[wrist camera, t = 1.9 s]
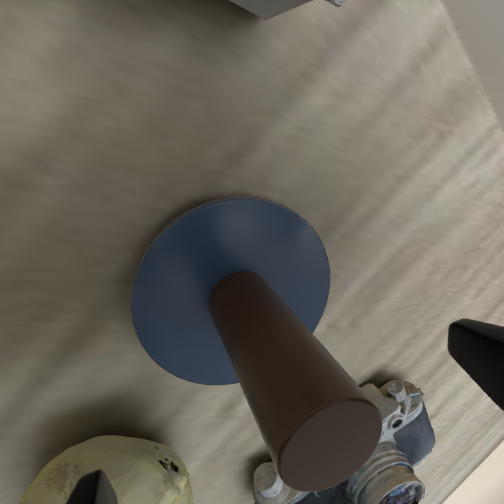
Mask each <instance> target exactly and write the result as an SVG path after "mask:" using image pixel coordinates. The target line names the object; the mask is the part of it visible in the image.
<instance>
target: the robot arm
mask: <svg viewBox="0 0 504 504" xmlns="http://www.w3.org/2000/svg"><path fill="white" fill-rule="evenodd" d="M448 351H449V353H450V355H451V356H452V357H453V358H454V360H455V361H456V362H457V363H458V364H459V365H460V366H461V367H462V368H463V369H464V370H465V371H466V372H467V374H468V375H469V376H470V377H471V378H472V379H473V380H474V381H475V382H476V383H477V384H478V385H479V386H480V388H481V389H482V390H483V391H484V392H485V393H486V394H487V395H488V396H489V397H490V398H491V399H492V400H493V401H494V402H495V403H496V404H497V405H498V406H499V407H500V408H501V409H502V410H503V411H504V327H502V326H498V325H493V324H489V323H484V322H480V321H475V320H471V319H466V318H464V319H460V320H457V321H455V322H453V323H451V324H450V325H449V331H448ZM65 504H118V500H117V496H116V493H115V491H114V489H113V487H112V485H111V483H110V481H109V479H108V477H107V476H106V474H105V472H104V471H103V470H102V469H98V470H95V471H93V472H90V473H88V474H85V475H83V476H82V477H81V478H80V479H79V480H78V482H77V483H76V485H75V487H74V489H73V491H72V493H71V494H70V496H69V498H68V500H67V502H66V503H65Z"/></svg>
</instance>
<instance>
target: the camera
mask: <svg viewBox="0 0 504 504" xmlns="http://www.w3.org/2000/svg"><path fill="white" fill-rule="evenodd" d="M360 388H361V389H362V390H363V392H364V393H365V394H366V395H367V396H368V397H369V398H370V400H371V401H372V402H373V403H374V404H375V405H376V406H377V408H378V410H379V411H380V414H381V417H382V424H383V425H382V434H381V437H380V441H379V443H378V445H377V447H376V449H375V451H374V452H373V454H372V455H371V457H370V458H369V459H368V460H367V462H366V463H365V464H364V465H363V466H362V467H361V468H360V469H359V470H358V471H357V472H356V473H354V474H353V475H352V476H350V477H349V478H348V479H346V480H344V481H343V482H341V483H339V484H337V485H335V486H333V487H331V488H328V489H325V490H321V491H316V492H300V491H296V490H294V489H291V488H290V487H288V486H287V485H286V484H285V483H284V482H283V481H282V480H281V478H280V476H279V474H278V472H277V470H276V467H275V465H274V463H273V461H272V462H268V463H263V464H261V465H260V466H259V467H258V468H257V469H256V471H255V473H254V485H253V494H254V499H255V501H256V502H255V503H254V504H418V502H419V501H420V500H421V499H423V497H424V493H425V487H424V484H423V483H422V482H421V481H420V480H419V479H418V478H417V477H416V476H415V475H414V471H413V467H412V466H415V465H418V464H419V463H421V462H422V461H423V460H424V459H425V458H426V457H427V456H428V455H429V454H430V453H431V451H432V448H433V447H434V445H435V435H434V431H433V428H432V427H431V424H430V421H429V418H428V414H427V412H426V408H425V405H424V402H423V400H422V396H423V395H424V394H423V393H422V391H421V390H420V388H419V389H417V388H416V387H415V386H414V385H413V384H412V383H410V382H406V381H402V380H393V381H389V382H388V383H387V384H385V385H383V386H382V387H380V388H377V387H376V386H375V385H374V384H373V383H372V384H371V383H365V384H363V385H362V386H360Z"/></svg>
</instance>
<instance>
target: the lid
mask: <svg viewBox="0 0 504 504" xmlns="http://www.w3.org/2000/svg"><path fill="white" fill-rule="evenodd" d="M329 287H330V269H329V263H328V258H327V255H326V252H325V248H324V246H323V244H322V242H321V240H320V238H319V237H318V235H317V234H316V232H315V231H314V229H313V228H312V227H311V226H310V225H309V224H308V223H307V222H306V220H304V219H303V218H302V217H301V216H299V215H298V214H297V213H295V212H294V211H292V210H290V209H288V208H287V207H285V206H283V205H281V204H278V203H276V202H273V201H270V200H267V199H262V198H258V197H249V196H235V197H226V198H220V199H215V200H212V201H209V202H206V203H203V204H200V205H198V206H196V207H194V208H192V209H190V210H188V211H186V212H185V213H183V214H182V215H180V216H178V217H177V218H175V219H174V220H173V221H172V222H171V223H169V224H168V225H167V226H166V227H165V228H164V229H163V230H162V231H161V232H160V233H159V234H158V235H157V236H156V237H155V238H154V240H153V241H152V242H151V244H150V245H149V247H148V248H147V250H146V251H145V253H144V255H143V257H142V259H141V261H140V263H139V265H138V268H137V271H136V274H135V277H134V282H133V287H132V301H131V310H132V318H133V324H134V327H135V330H136V334H137V336H138V338H139V340H140V342H141V344H142V346H143V348H144V349H145V350H146V352H147V353H148V355H149V356H150V357H151V358H152V359H153V360H154V361H155V362H156V363H157V364H158V365H159V366H161V367H162V368H163V369H165V370H166V371H167V372H169V373H171V374H173V375H175V376H176V377H179V378H181V379H184V380H186V381H190V382H194V383H198V384H205V385H228V384H235V383H240V385H241V388H242V390H243V392H244V395H245V397H246V399H247V402H248V404H249V406H250V409H251V411H252V413H253V416H254V418H255V420H256V423H257V425H258V427H259V430H260V432H261V434H262V437H263V439H264V442H265V444H266V446H267V449H268V451H269V453H270V456H271V458H272V460H273V463H274V465H275V467H276V470H277V472H278V474H279V476H280V478H281V480H282V481H283V482H284V483H285V484H286V485H287V486H288V487H290V488H291V489H294V490H296V491H300V492H316V491H321V490H325V489H328V488H331V487H333V486H335V485H337V484H339V483H341V482H343V481H344V480H346V479H348V478H349V477H350V476H352V475H353V474H354V473H356V472H357V471H358V470H359V469H360V468H361V467H362V466H363V465H364V464H365V463H366V462H367V460H368V459H369V458H370V457H371V455H372V454H373V452H374V451H375V449H376V447H377V445H378V443H379V441H380V437H381V434H382V425H383V424H382V417H381V414H380V411H379V410H378V408H377V406H376V405H375V404H374V403H373V402H372V401H371V400H370V398H369V397H368V396H367V395H366V394H365V393H364V392H363V390H362V389H361V388H360V387H359V386H358V385H357V384H356V383H355V381H354V380H353V379H352V378H351V377H350V376H349V375H348V373H347V372H346V371H345V370H344V369H343V368H342V367H341V365H340V364H339V363H338V362H337V361H336V360H335V359H334V358H333V356H332V355H331V354H330V353H329V352H328V351H327V350H326V348H325V347H324V346H323V345H322V344H321V343H320V342H319V340H318V339H317V338H316V337H315V336H314V335H313V334H312V333H313V332H314V330H315V328H316V327H317V325H318V323H319V321H320V319H321V317H322V315H323V312H324V309H325V306H326V303H327V299H328V295H329Z"/></svg>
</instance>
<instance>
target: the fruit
mask: <svg viewBox="0 0 504 504" xmlns="http://www.w3.org/2000/svg"><path fill="white" fill-rule="evenodd" d="M98 469H102V470H103V471H104V472H105V474H106V476H107V477H108V479H109V481H110V483H111V485H112V487H113V489H114V491H115V493H116V496H117V500H118V504H193V496H192V488H191V483H190V479H189V474H188V472H187V469H186V467H185V465H184V463H183V461H182V460H181V458H180V457H179V456H178V454H177V453H176V452H175V451H173V450H172V449H171V448H169V447H168V446H165V445H163V444H160V443H157V442H153V441H149V440H145V439H140V438H133V437H124V436H118V435H105V436H98V437H94V438H91V439H89V440H86V441H84V442H82V443H79V444H76V445H74V446H71V447H69V448H67V449H66V450H64V451H63V452H62V453H61V454H59V455H58V456H56V457H55V458H54V459H52V460H51V461H50V462H49V463H48V464H47V465H46V466H45V467H44V468H43V469H42V470H41V471H40V472H39V474H38V475H37V476H36V478H35V479H34V481H33V482H32V483H31V485H30V486H29V488H28V489H27V491H26V493H25V495H24V496H23V498H22V500H21V502H20V504H65V503H66V502H67V500H68V498H69V496H70V494H71V493H72V491H73V489H74V487H75V485H76V483H77V482H78V480H79V479H80V478H81V477H82V476H83V475H85V474H88V473H90V472H93V471H95V470H98Z"/></svg>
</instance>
